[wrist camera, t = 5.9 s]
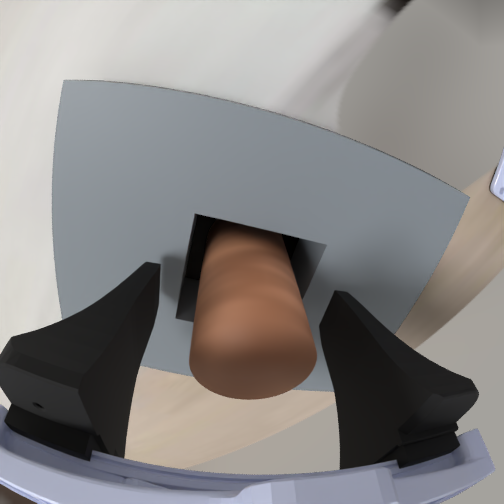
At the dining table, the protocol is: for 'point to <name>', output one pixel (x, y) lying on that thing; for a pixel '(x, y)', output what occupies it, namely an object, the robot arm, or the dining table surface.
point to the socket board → (234, 206)
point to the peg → (249, 316)
